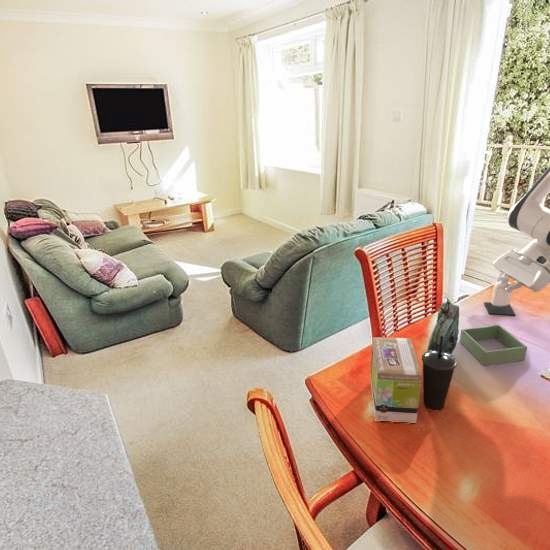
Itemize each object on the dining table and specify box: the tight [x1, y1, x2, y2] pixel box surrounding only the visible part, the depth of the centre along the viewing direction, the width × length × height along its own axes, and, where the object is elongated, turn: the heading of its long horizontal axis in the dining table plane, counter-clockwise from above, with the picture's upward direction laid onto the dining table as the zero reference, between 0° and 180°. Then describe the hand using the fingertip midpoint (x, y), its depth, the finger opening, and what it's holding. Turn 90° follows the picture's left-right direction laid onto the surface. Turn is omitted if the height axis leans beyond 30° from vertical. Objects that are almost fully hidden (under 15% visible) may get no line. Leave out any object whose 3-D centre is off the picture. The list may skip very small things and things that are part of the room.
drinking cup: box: [421, 336, 458, 411], centre depth 90 cm, size 8×8×20 cm
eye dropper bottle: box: [490, 273, 513, 306], centre depth 128 cm, size 4×6×12 cm
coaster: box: [483, 301, 516, 317], centre depth 131 cm, size 8×8×1 cm
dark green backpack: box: [426, 298, 460, 355], centre depth 102 cm, size 20×6×20 cm, turn 146°
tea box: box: [370, 336, 423, 424], centre depth 93 cm, size 15×10×15 cm, turn 171°
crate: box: [459, 324, 528, 366], centre depth 110 cm, size 12×12×4 cm
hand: (501, 287), depth 128 cm, fingers closed on eye dropper bottle, 3 cm apart
